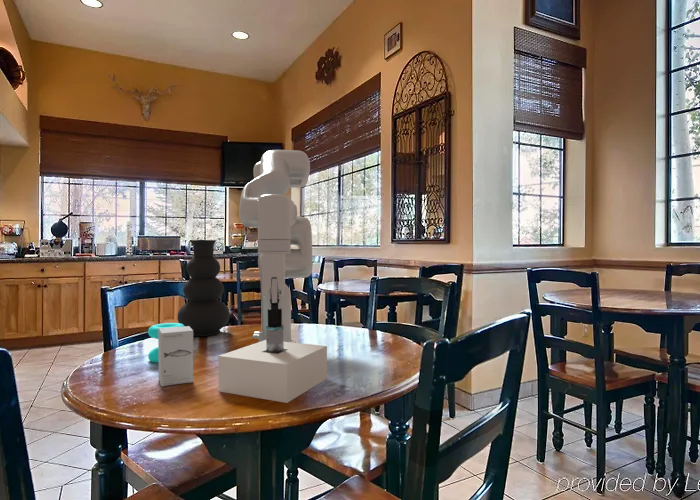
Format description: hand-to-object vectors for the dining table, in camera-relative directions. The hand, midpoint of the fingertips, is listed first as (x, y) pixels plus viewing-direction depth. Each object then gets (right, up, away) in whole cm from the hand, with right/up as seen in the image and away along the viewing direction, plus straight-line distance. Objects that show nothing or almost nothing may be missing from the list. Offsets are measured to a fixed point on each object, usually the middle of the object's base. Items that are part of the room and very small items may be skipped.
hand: (274, 326), depth 101 cm
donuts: (-35, -14, +24) cm, 45 cm away
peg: (0, -8, 0) cm, 8 cm away
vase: (-37, -14, +60) cm, 71 cm away
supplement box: (-25, -14, +4) cm, 29 cm away
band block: (0, -14, 0) cm, 14 cm away
